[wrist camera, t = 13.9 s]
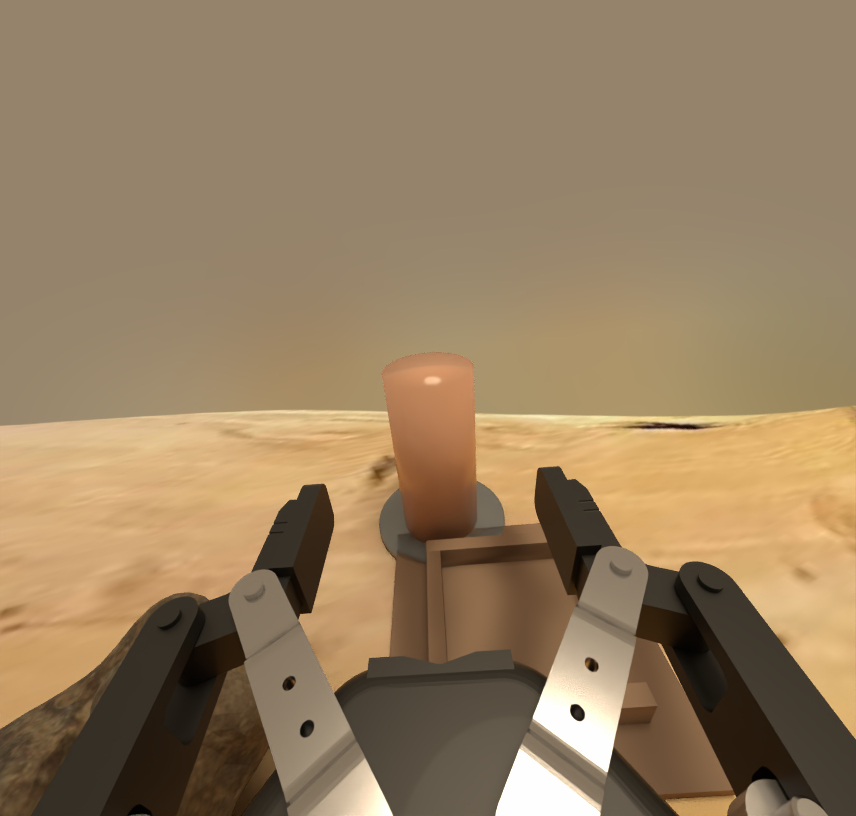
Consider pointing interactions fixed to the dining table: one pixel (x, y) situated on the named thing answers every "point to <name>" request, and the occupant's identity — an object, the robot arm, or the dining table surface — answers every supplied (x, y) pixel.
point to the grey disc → (395, 524)
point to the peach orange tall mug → (434, 442)
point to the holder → (544, 644)
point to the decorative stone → (69, 711)
